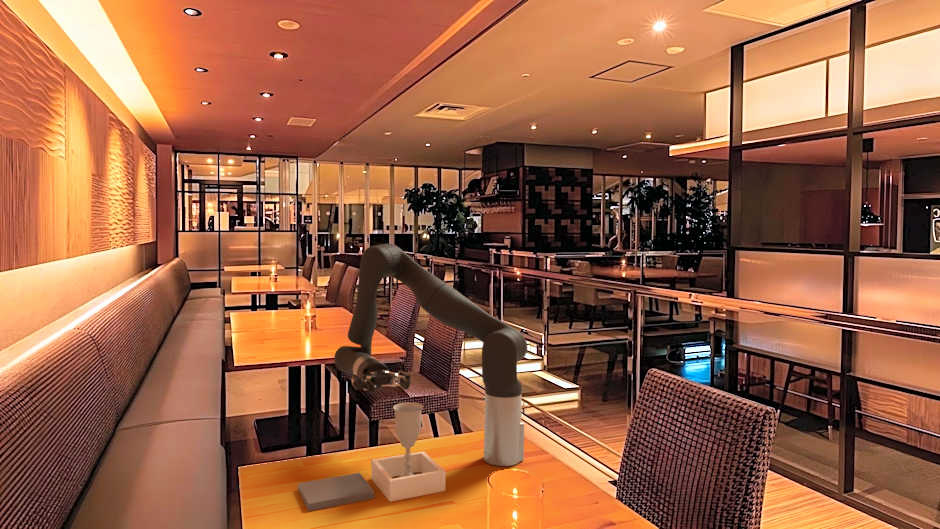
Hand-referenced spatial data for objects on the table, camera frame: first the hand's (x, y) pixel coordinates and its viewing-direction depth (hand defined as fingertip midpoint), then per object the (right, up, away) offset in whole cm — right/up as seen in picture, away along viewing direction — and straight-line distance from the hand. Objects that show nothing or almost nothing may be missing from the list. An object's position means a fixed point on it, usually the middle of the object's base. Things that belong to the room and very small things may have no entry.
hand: (390, 387), depth 148 cm
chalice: (+5, -20, -9) cm, 23 cm away
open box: (+5, -20, -9) cm, 23 cm away
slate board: (-10, -20, -15) cm, 27 cm away
